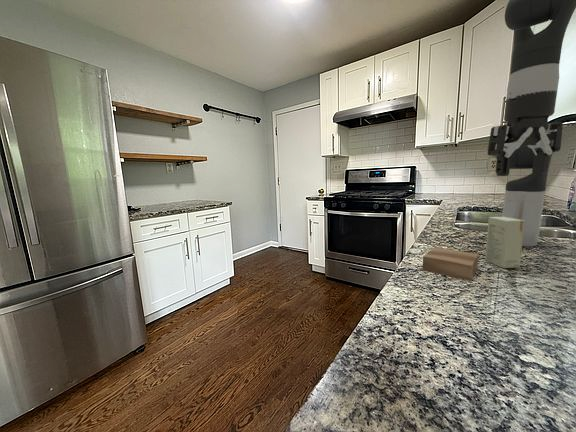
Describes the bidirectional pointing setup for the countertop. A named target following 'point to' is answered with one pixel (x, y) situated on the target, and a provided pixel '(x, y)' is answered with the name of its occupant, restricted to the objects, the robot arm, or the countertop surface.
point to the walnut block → (451, 263)
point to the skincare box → (504, 241)
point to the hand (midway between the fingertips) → (520, 174)
